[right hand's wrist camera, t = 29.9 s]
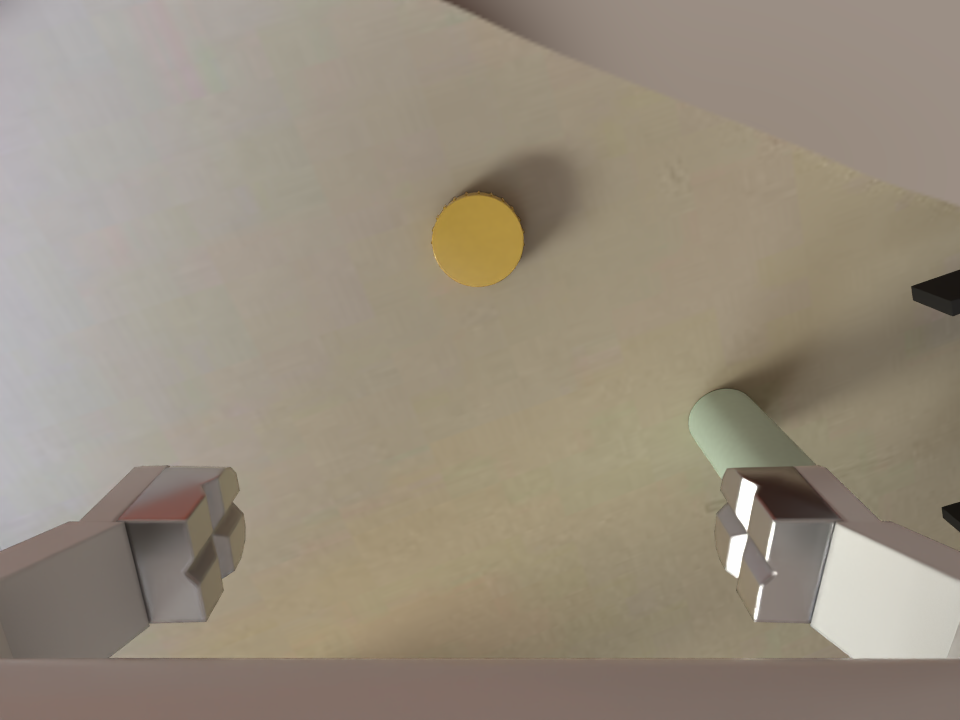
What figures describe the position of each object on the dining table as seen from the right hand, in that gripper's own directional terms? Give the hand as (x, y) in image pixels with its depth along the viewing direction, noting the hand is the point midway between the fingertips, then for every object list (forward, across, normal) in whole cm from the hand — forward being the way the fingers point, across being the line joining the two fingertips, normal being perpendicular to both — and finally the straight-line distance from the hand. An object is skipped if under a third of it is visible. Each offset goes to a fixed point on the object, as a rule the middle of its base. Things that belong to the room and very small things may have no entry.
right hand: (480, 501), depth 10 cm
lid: (+25, 0, 0) cm, 25 cm away
